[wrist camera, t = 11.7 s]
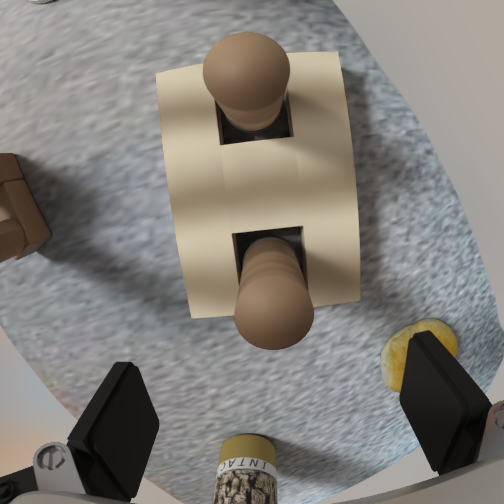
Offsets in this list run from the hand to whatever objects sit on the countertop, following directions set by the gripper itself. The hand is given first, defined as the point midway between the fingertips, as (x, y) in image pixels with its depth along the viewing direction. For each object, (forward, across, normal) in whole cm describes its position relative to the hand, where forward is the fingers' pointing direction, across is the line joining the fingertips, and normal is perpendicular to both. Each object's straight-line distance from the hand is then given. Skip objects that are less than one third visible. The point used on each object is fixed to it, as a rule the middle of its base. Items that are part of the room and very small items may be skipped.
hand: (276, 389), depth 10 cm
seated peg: (+18, 0, -11) cm, 21 cm away
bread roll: (+18, -15, +13) cm, 27 cm away
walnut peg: (+18, 0, 0) cm, 18 cm away
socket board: (+18, 0, -5) cm, 19 cm away
